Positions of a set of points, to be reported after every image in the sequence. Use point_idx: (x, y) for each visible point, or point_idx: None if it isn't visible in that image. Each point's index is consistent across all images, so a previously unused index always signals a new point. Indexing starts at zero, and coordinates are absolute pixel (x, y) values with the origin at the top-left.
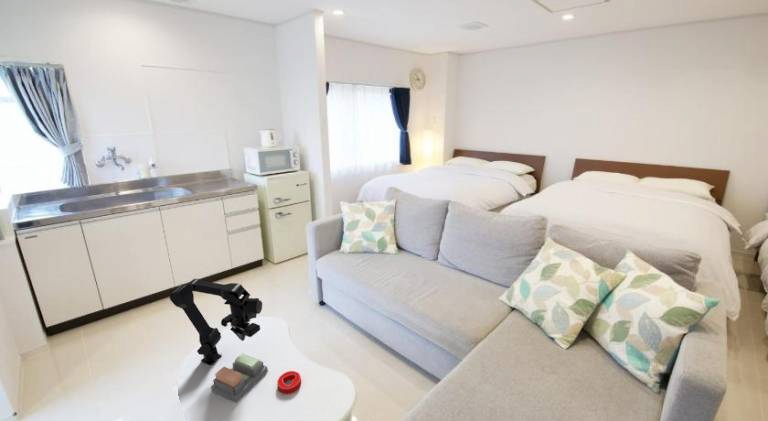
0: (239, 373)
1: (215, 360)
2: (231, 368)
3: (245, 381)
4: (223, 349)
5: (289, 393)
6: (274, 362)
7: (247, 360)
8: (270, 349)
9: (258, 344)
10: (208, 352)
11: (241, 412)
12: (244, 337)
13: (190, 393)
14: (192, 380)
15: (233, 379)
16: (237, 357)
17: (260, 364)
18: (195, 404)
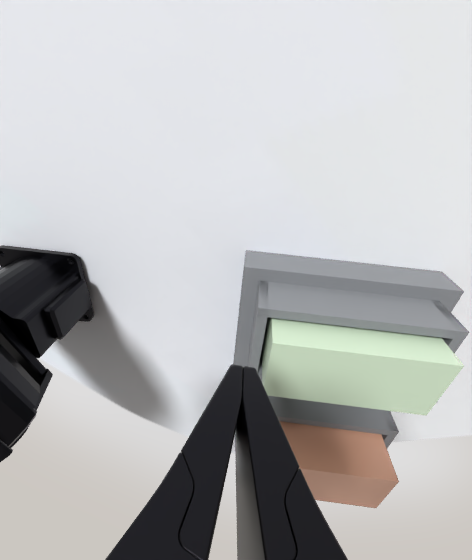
0: (385, 480)
1: (89, 302)
2: (235, 347)
3: (389, 417)
4: (25, 202)
5: None
6: (468, 196)
7: (362, 386)
8: (373, 65)
9: (217, 44)
10: (42, 390)
11: (402, 436)
12: (268, 412)
13: (164, 416)
14: (111, 383)
15: (372, 501)
16: (266, 379)
17: (455, 350)
18: None
